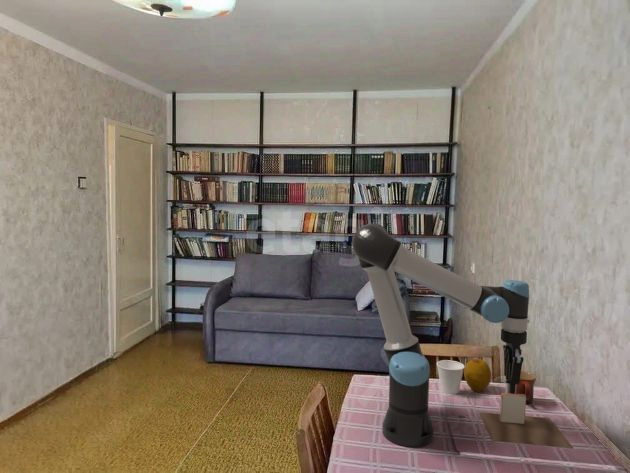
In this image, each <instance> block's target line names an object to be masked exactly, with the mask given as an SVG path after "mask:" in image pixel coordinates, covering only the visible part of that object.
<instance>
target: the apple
mask: <svg viewBox="0 0 630 473" xmlns="http://www.w3.org/2000/svg"><path fill="white" fill-rule="evenodd" d="M463 377H464V378H465V382H466V384H467V385H468V387H469V389H470V388H471V390H473V391H475V392H483V391H485V390H486V389H487V388H488V386H489V385H490V383H491V380H492V372H491V369H490V366H489V365H488V363H487V362H486V361H485V360H484V359H482V358H475V359H471V360H469V361H468V362H467V363H466V365H465V368H464V370H463Z"/></svg>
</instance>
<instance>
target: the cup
mask: <svg viewBox="0 0 630 473" xmlns="http://www.w3.org/2000/svg"><path fill="white" fill-rule="evenodd" d="M436 366H437V371H438V372H437V374H438V380H439V388H440V392H442V393H444V394H446V395H458V394H460V393H459V392H460V387H461V383H462V380H463V379H462V378H463V376H464V370H465V367H466V365H465V364H463V363H461V362H459V361H456V360H448V359H442V360H438V361H437V362H436Z"/></svg>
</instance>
